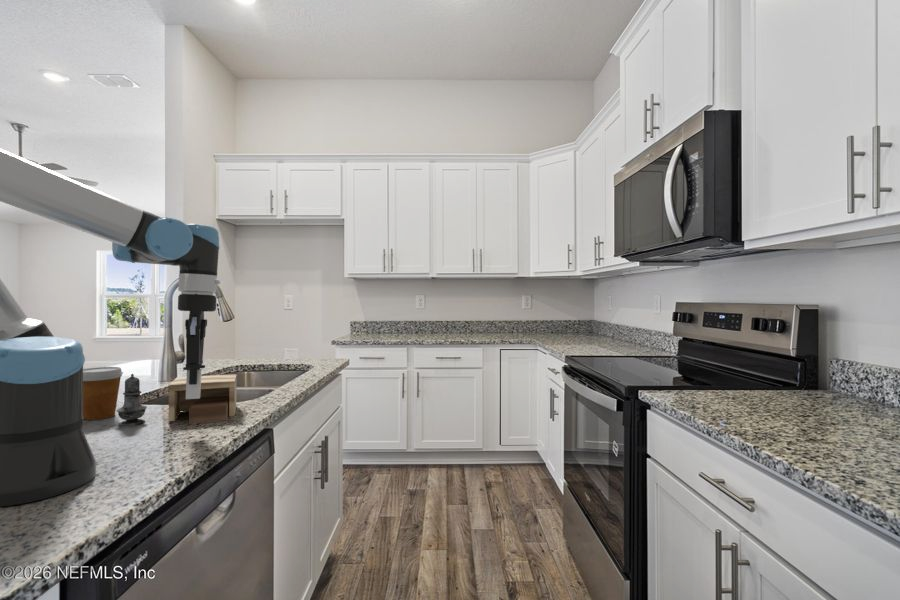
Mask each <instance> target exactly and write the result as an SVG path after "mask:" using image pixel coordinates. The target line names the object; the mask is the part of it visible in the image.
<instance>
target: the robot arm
mask: <svg viewBox="0 0 900 600" xmlns="http://www.w3.org/2000/svg"><path fill="white" fill-rule="evenodd" d="M0 203H4V204H7V205H9V206H12V207H15V208H18V209H20V210H23V211H26V212H29V213H32V214H34V215H37V216H40V217H43V218H45V219H48V220H51V221H53V222H57V223H59V224H62V225H65V226H67V227H71V228H73V229H76V230H78V231H81V232H84V233H86V234H90V235H92V236H94V237H98V238H101V239H103V240H106V241H109V242H111V243H112V245H111V248H112V250H111V251H112V255H113V257H114V259H115V260H117V261H120V262H127V263H132V264H136V263H138V264H139V263H140V264H149V265H150V264H152V265H165V266H166V265H169V266H173V267H174V266H175V267H178V266H179V270H178V271H179V273H178V287H177V288H178V289H177V290H178V291H179V292H180V294H179V295H178V296H177V310H178V311H181V312H189V314H188V315H189V316H188V318H187V319H185V323H184V326H185V339H186V340H185V343H186V347H185V348H186V349H185V353H186V354H185V356H186V357H185V366H184V367H182V369H183V371H186V377H187V379H186V399H200V392H201V376H202V369H206V365H205V364H203V363H204V359H203V357H204V348H205V347H204V344H205V337H206V328H207V326H208V319H205V312H206V313H207V312H209V313H210V312H215V311H216V309H217V296H216V295H214V294H216V293H217V289H218V288H217V285H220V284H221V280H219V279H218V266H219V252H220V251H219V250H220V235H219V231H218V229H216V228H215V227H214V226H211V225H206V224H196V223H185V222H183V220H182V221H181V219H180V220H179V219H177V218H173V217H161V216H158V215H156V214H154V213H152V212H149V211H146V210H144V209H142V208H140V207H137V206H135V205H132V204H130V203H128V202H127V201H126V202H125V201H123V200H121V199H118V198H116V197H114V196H113V195H109V194H106V193H105V192H103V191H100V190H97V189H95V188H93V187H90V186H88V185H86V184H83V183H82V182H79V181H77V180H75V179H72V178H70V177H67V176H65V175H62V174H61V173H58V172H56V171H54V170H51V169H48V168H46V167H45V166H42V165H40V164H37V163H35V162H32V161H30V160H28V159H26V158H23V157H21V156H18V155H16V154H15V153H11V152H9V151H7V150H4V149H2V148H0ZM85 361H86V357H85V354H84V349H83V346H82V344H81V343H80V342H79V341H78V340H76V339H72V338H68V337H60V336H54V335H53V333H52V331H51V330H50V329H49V328H48V326H47V324H46V323H45V321H44V320H40V319H36V318H31V317H28V316H27V314H26V313H25V312H24V310H23V309H22V307H21V306H20V305H19V303H18V301H17V300H16V299H15V297H14V296H13V295H12V293H11V292H10V290H9V289H8V288H7V286H6V285H5V283H4V282H3V281H2V279H1V278H0V508H1V507H8V506H9V507H10V506H16V505H23V504H27V503H28V504H29V503H32V502H37V501H42V500H44V499H48V498H52V497H55V496H58V495H62V494H64V493H67V492H70V491H72V490H75V489H78V488H80V487H82V486H85V484H87V483H89V482H90V481H92V480H93V479H94V478H95V477H96V475H97V471H96V470H97V462H96V459H95V456H94V454H93V451H92V449H91V446H90V445H89V442H88V439H87V438H86V435H85V433H84V430H83V427H84V426H83V424H84V423H83V422H84V421H83V420H84V419H83V369H84V364H85Z"/></svg>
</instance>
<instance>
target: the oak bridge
mask: <svg viewBox="0 0 900 600" xmlns="http://www.w3.org/2000/svg"><path fill="white" fill-rule="evenodd" d="M186 379H187V376H181V377H180V376H179V377H178V376H176V377H175V379H173V380H172V382H171V383H170V384H168V423H171V422H170V421H174V422H175V421H176V420H177V418H178V417H179V415H180V414H181V413H180V411H189V409H190V407H191V406H192V405H193V403H194V402H195V401H196V400H197V399H186ZM237 379H238V377H237V373H236V374H235V373H233V374H232V373H231V374H230V373H229V374H216V375H215V374H213V375H201V392H200V398H209V397H223V396H229V415H228V418H230V417H235V416H236V415H235V414H236V410H237V389H238V387H237V384H238V383H237V382H238V380H237ZM179 413H180V414H179ZM178 414H179V415H178ZM177 416H178V417H177ZM176 417H177V418H176ZM175 419H176V420H175Z"/></svg>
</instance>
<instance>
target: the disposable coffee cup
mask: <svg viewBox="0 0 900 600" xmlns="http://www.w3.org/2000/svg"><path fill="white" fill-rule="evenodd" d="M123 374H124V372H123V371H122V368H121V367H120V366H101V367H100V366H99V367H91V368H90V367H89V368H83V420H84V419H86V420H85V421H97V419H98V420H103V419H108V418H111V417H114V416H115V414H116V411H117V409H116V408H117V403H118V396H119V389H120V384H121V379H122V376H123Z"/></svg>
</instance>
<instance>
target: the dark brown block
mask: <svg viewBox="0 0 900 600" xmlns="http://www.w3.org/2000/svg"><path fill="white" fill-rule="evenodd" d="M228 418H229V396H223V397H209V398H200V399H197V400H196V401H195V402H194V403H193V405H192V406H191V407H190V409H189V412H188V425H194V423H196V424H206V423H215V422H216V423H218V422H226V421H227V420H228Z"/></svg>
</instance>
